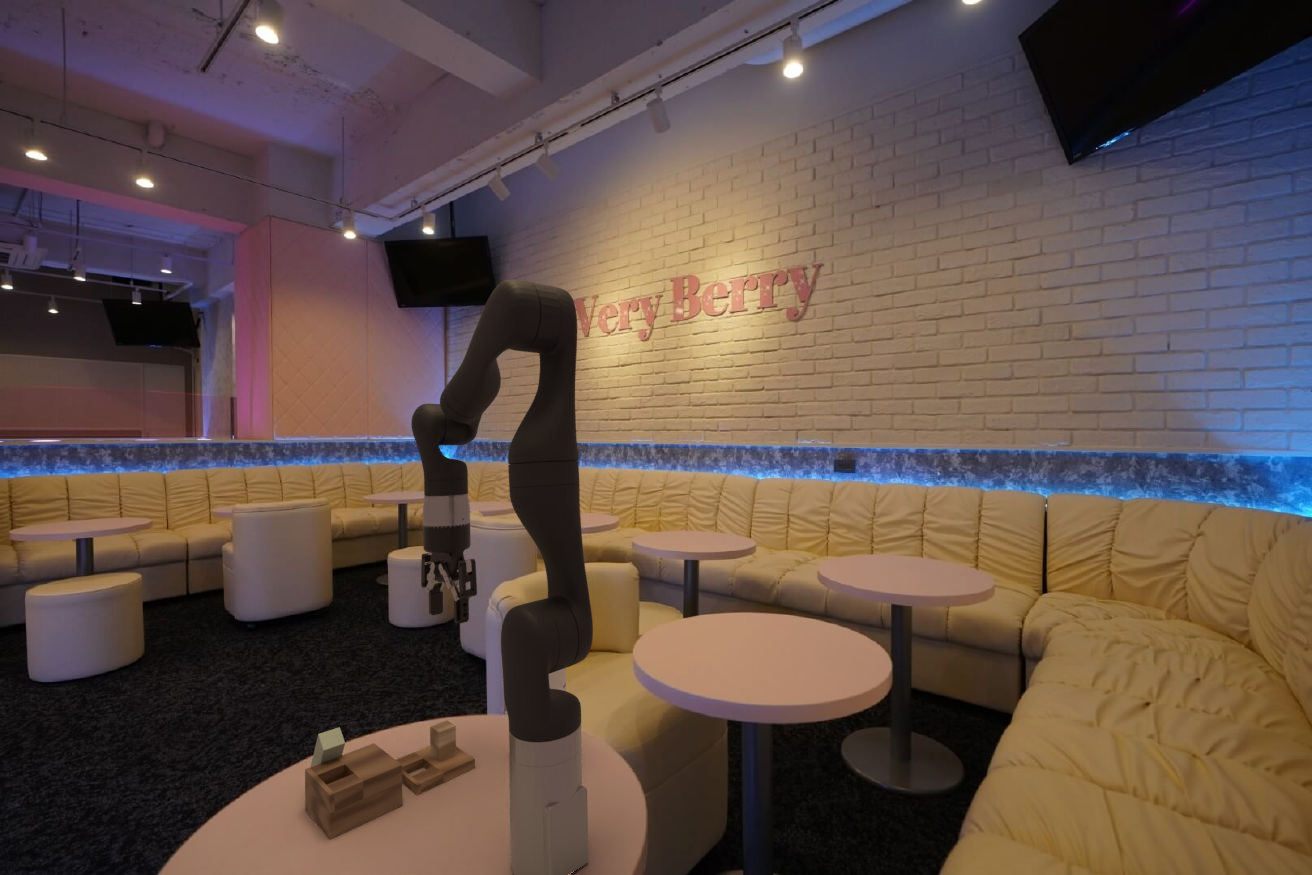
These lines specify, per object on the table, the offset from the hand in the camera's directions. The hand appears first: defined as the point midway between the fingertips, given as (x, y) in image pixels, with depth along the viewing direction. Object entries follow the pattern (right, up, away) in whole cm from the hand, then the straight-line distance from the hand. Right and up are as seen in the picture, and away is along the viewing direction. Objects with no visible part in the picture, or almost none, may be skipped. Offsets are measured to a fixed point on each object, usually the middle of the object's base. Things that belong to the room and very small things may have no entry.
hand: (448, 618), depth 98 cm
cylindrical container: (+16, -25, +2) cm, 30 cm away
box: (-10, -25, -11) cm, 29 cm away
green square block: (-15, -16, -9) cm, 23 cm away
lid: (-2, -25, -1) cm, 25 cm away
